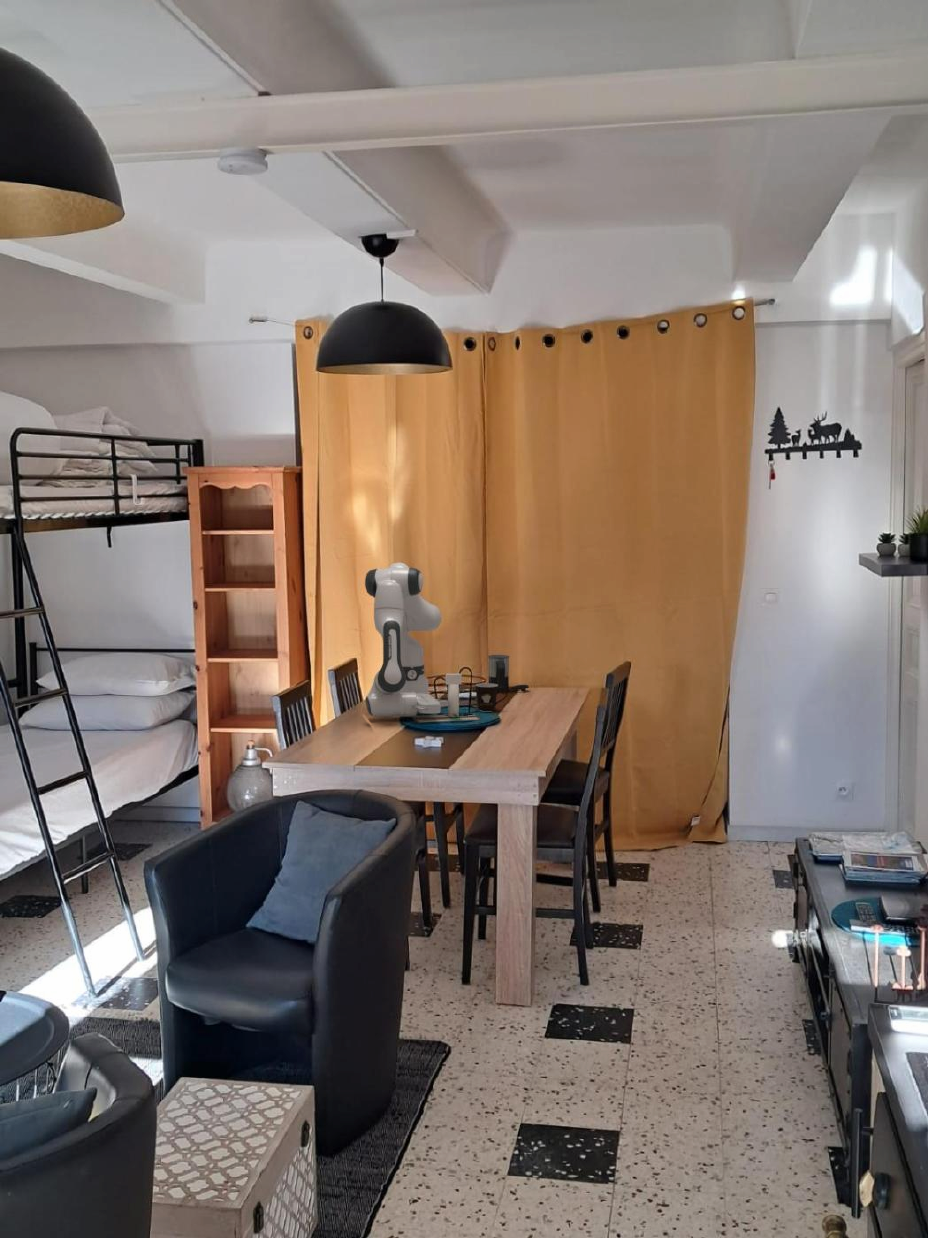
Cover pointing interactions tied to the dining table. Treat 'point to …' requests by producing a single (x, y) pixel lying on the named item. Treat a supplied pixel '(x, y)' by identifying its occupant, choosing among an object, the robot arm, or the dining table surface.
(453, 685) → the peg
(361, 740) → the dining table surface
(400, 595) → the robot arm
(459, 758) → the dining table surface
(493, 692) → the coffee mug
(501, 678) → the milk frother
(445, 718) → the tuner board
